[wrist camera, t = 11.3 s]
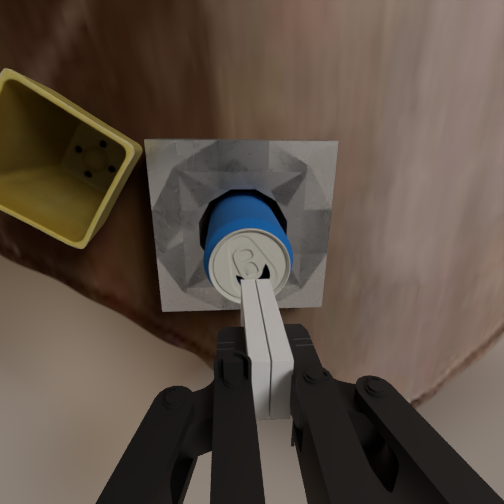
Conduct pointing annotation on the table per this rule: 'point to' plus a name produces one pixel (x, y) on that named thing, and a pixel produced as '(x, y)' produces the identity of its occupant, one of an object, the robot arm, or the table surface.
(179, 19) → the table surface
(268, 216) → the beverage can
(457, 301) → the table surface
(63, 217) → the flower pot
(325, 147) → the jig
